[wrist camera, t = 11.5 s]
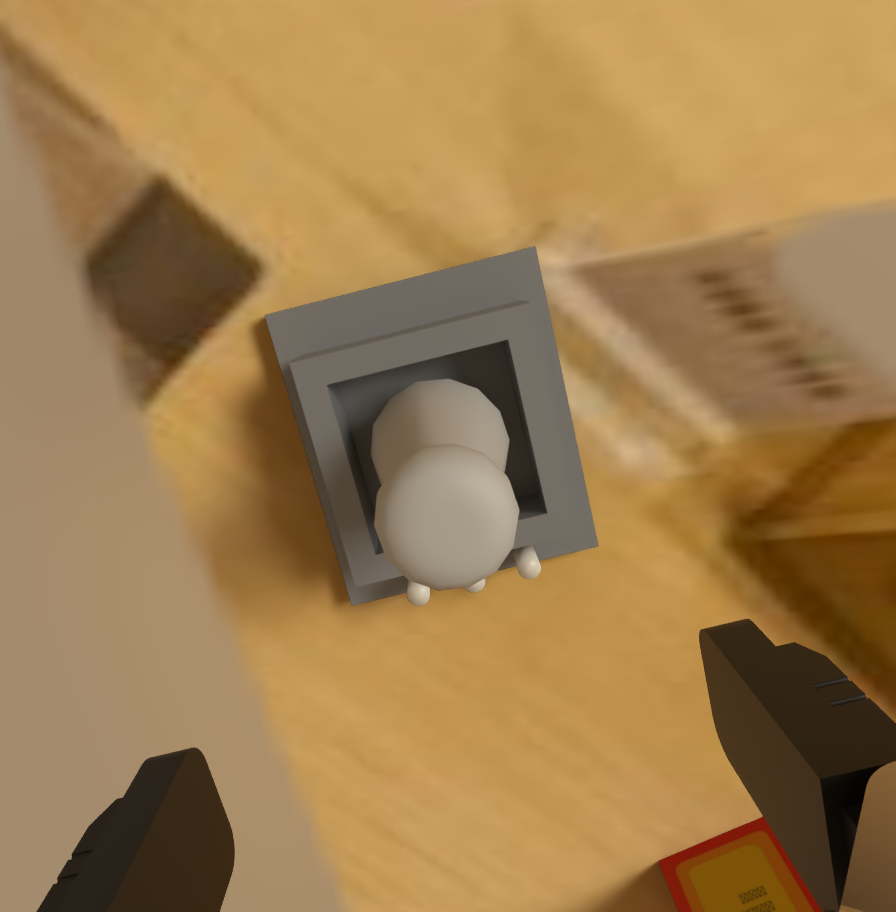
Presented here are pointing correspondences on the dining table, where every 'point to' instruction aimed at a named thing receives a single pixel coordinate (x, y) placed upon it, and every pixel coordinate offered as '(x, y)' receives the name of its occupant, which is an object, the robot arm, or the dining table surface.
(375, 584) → the socket
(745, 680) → the robot arm
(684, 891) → the baking soda box
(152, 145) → the dining table surface
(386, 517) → the salt shaker
